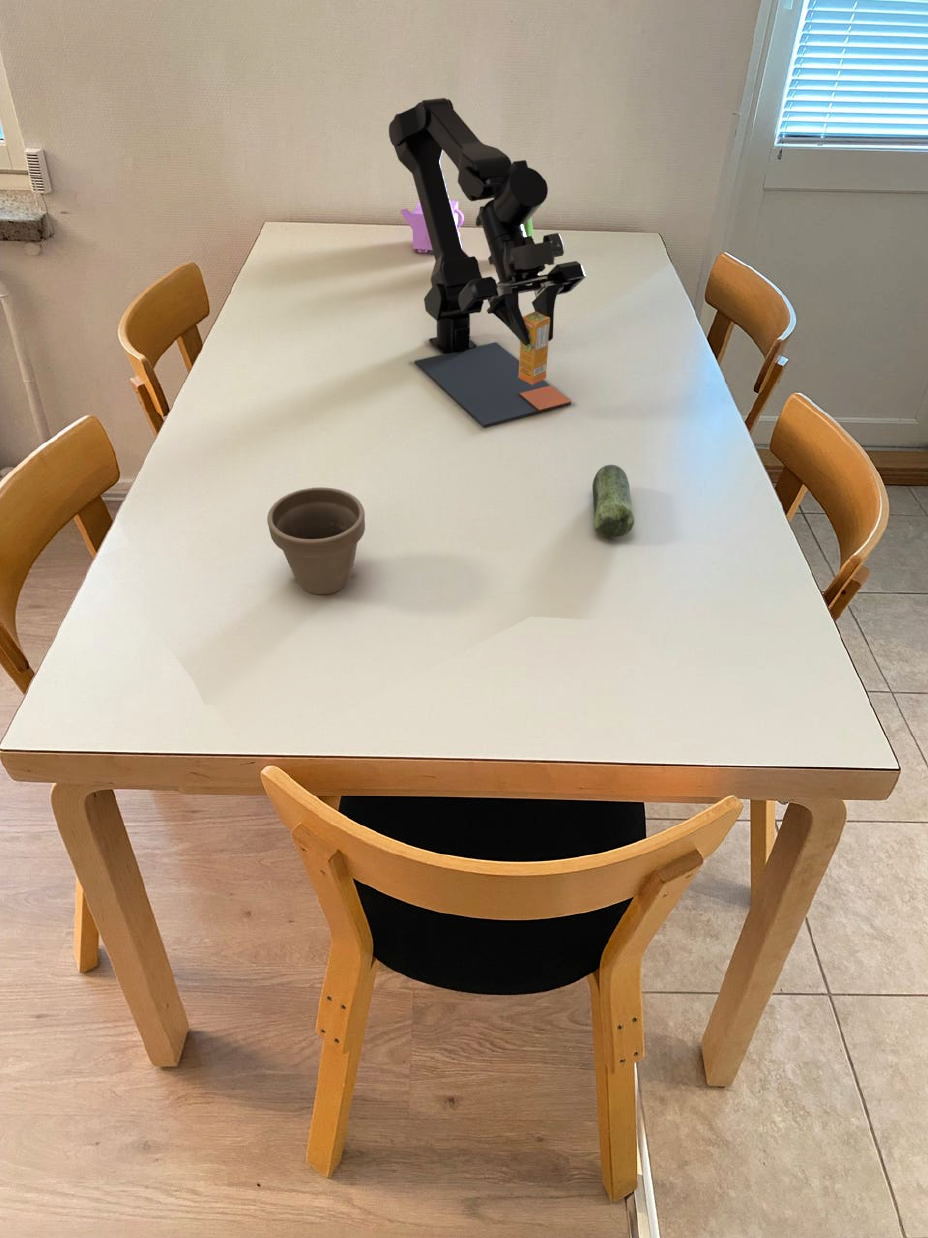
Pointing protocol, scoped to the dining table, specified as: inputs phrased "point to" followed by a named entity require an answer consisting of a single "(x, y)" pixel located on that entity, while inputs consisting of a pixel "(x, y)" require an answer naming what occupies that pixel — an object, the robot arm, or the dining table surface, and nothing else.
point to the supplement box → (534, 349)
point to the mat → (490, 384)
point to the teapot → (420, 229)
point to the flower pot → (318, 536)
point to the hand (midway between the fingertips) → (539, 342)
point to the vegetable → (612, 502)
